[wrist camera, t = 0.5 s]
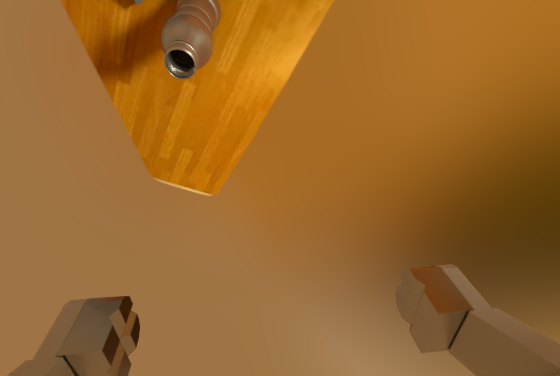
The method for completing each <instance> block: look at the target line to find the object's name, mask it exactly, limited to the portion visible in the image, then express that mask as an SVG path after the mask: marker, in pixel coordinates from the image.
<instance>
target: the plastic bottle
mask: <svg viewBox="0 0 560 376" xmlns="http://www.w3.org/2000/svg"><path fill="white" fill-rule="evenodd" d="M220 15H221V13H220V6H219V2H218V0H178V1H177V11H176V13H175V14H174V15H173V16H172V17H170V18H169V19H168V20H167V21H166V23H165V24H164V25H163V28H162V30H161V45H162V49H163V51H164V54H165V56H164V64H165V67H166V69H167V71H168V72H169V73H170V74H171V75H172V76H173V77H175V78H178V79H183V80H185V79H189V78H191V77H192V76H193V75H194V74H195V72H196V70H197V69H200V68H201V67H203V66H204V65H206V64H207V62H208V61H209V60H210V58H211V55H212V51H213V39H212V33H213V31H214V30H215V29H216V27H217V26H218V24H219V21H220Z"/></svg>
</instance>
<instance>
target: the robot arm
mask: <svg viewBox="0 0 560 376" xmlns="http://www.w3.org/2000/svg"><path fill="white" fill-rule="evenodd" d="M401 279H402V281H403V283H402V284H401V285H400V286H399V287H398V288H397V292H396V303H397V306H398V310H399V312H400V314H401V316H402V318H403V319H405V320H406V321H407V322H409V323H410V324H411V327H410V333H411V335H412V337H413V339H414V340H415V342H416V344H417V346H418V348H419V350H420V352H421V353H425V352H435V351H445V350H446V351H447V350H449V353H450V354H452V355H453V356H454V357H455V358H456V359H457V360H459V361H460V362H461V363H462V364H463V365H464V366H465V367H467V368H468V369H469V370H470V371H471V372H472V373H474V374H475V375H476V376H560V344H559V343H557V342H555V341H553V340H552V339H550V338H548V337H546V336H545V335H543V334H541V333H539V332H538V331H536V330H534V329H532V328H531V327H529V326H527V325H525V324H524V323H522V322H520V321H518V320H517V319H515V318H513V317H511V316H510V315H508V314H506V313H504V312H503V311H501V310H499V309H497V308H491V307H490V306H489V305H488V303H487V302H486V301H485V300H484V299H483V298H482V296H481V295H480V294H479V293H478V292H477V290H476V289H475V288H474V287H473V286H472V285H471V283H470V282H469V281H468V280H467V279H466V277H465V276H464V275H463V274H462V273H461V272H460V270H459V269H458V268H457V267H456V266H454V265H452V264H451V265H441V266H428V267H419V268H410V269H405V270H404V271H403V272H402V274H401ZM132 305H133V303H132V301H131V298H130V297H129V296H120V297H105V298H90V299H79V300H70V301H69V302H67V303H66V304H65V305H64V306H63V308H62V310H61V311H60V313H59V315H58V317H57V318H56V320H55V322H54V323H53V325H52V327H51V329H50V330H49V332H48V334H47V335H46V337H45V339H44V341H43V342H42V344H41V346H40V347H39V349H38V351H37V353H36V354H35V356H34V358H33V360H27V361H25V362H24V363H22V364H21V365H20V366H19V367H17V368H16V369H15V370H14V371H13V372H11V373H10V374H9V375H8V376H128V374H129V370H130V367H131V362H130V360H129V358H128V356H129V355H130V354H131V353H132V352H133V351H134V350H135V349H136V347H137V343H138V339H139V332H140V324H139V318H138V315H137V314H136V313H135V312H133V311H131V308H132Z"/></svg>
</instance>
